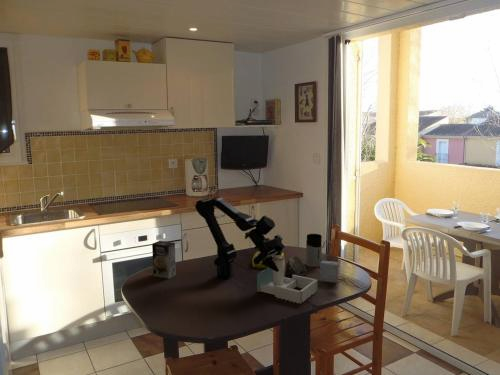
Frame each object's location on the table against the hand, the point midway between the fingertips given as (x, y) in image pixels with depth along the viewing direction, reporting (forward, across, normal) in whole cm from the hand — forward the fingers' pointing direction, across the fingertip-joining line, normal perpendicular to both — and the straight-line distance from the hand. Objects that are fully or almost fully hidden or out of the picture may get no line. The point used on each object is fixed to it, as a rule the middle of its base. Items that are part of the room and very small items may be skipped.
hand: (281, 269), depth 189 cm
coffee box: (-32, -14, +46) cm, 58 cm away
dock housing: (+11, 0, +2) cm, 12 cm away
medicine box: (+16, +22, -2) cm, 27 cm away
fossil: (+4, +21, +10) cm, 24 cm away
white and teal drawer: (+6, 0, +8) cm, 10 cm away
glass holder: (+7, +39, +7) cm, 40 cm away
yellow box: (-9, +27, +24) cm, 37 cm away
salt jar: (+4, 0, +6) cm, 7 cm away
